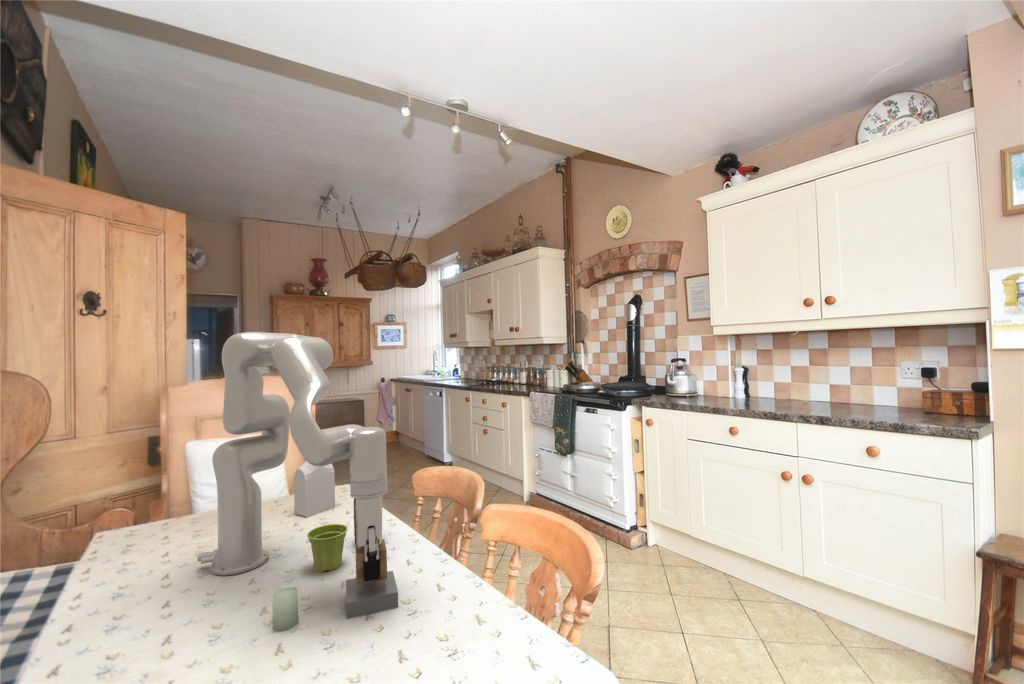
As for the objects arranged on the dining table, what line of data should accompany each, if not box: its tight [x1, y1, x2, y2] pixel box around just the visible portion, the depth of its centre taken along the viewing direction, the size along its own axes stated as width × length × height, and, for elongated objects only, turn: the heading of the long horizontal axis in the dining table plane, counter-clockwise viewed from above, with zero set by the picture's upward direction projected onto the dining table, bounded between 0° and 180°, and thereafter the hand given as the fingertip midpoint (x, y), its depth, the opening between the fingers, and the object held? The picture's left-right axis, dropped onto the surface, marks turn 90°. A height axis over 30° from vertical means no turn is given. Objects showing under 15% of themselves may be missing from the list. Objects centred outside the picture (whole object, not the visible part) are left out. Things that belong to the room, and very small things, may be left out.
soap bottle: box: [293, 460, 336, 518], centre depth 151 cm, size 11×8×27 cm
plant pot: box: [306, 523, 349, 572], centre depth 110 cm, size 9×9×9 cm
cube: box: [354, 538, 388, 585], centre depth 94 cm, size 6×6×6 cm
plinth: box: [345, 570, 399, 620], centre depth 93 cm, size 10×10×3 cm
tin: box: [272, 586, 299, 632], centre depth 86 cm, size 4×4×6 cm
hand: (371, 571), depth 94 cm, fingers closed on cube, 6 cm apart
